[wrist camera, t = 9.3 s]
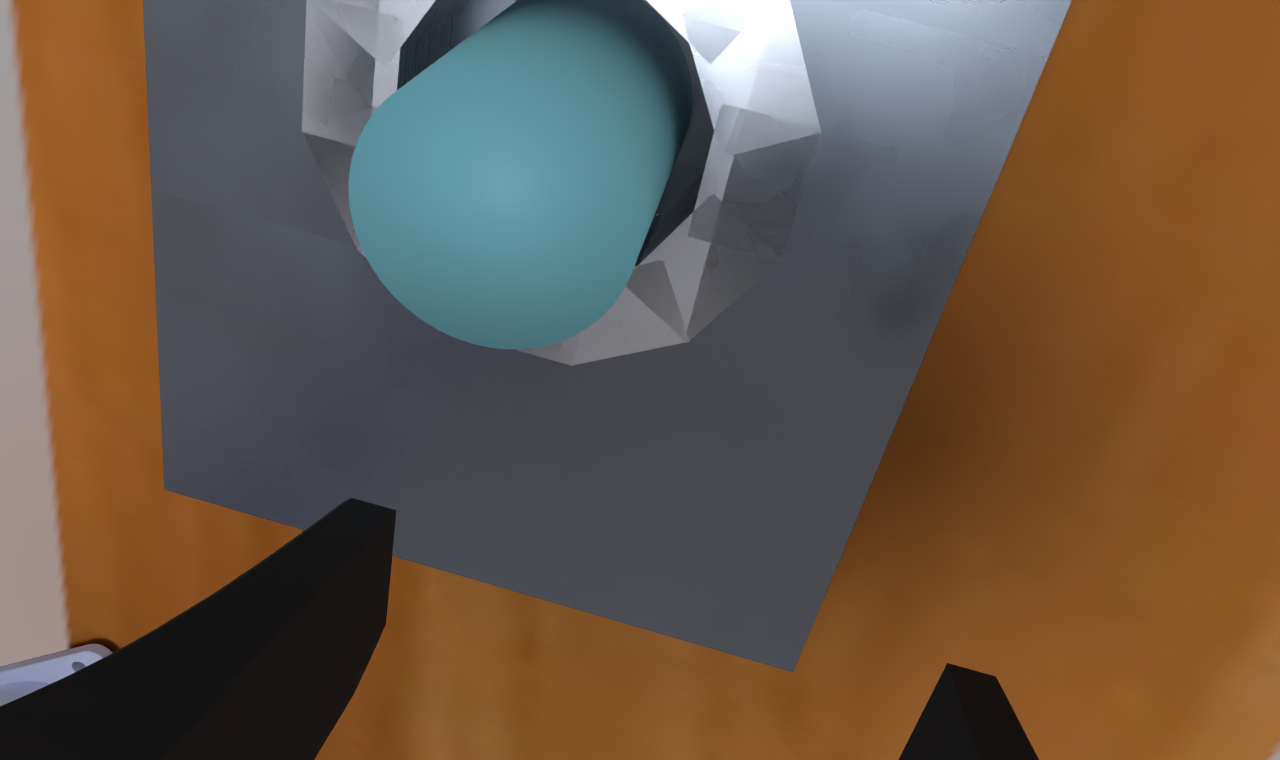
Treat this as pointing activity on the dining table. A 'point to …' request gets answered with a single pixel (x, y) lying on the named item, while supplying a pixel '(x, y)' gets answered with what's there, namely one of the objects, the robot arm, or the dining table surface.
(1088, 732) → the dining table surface
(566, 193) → the teal dowel
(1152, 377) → the dining table surface
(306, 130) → the bore block
